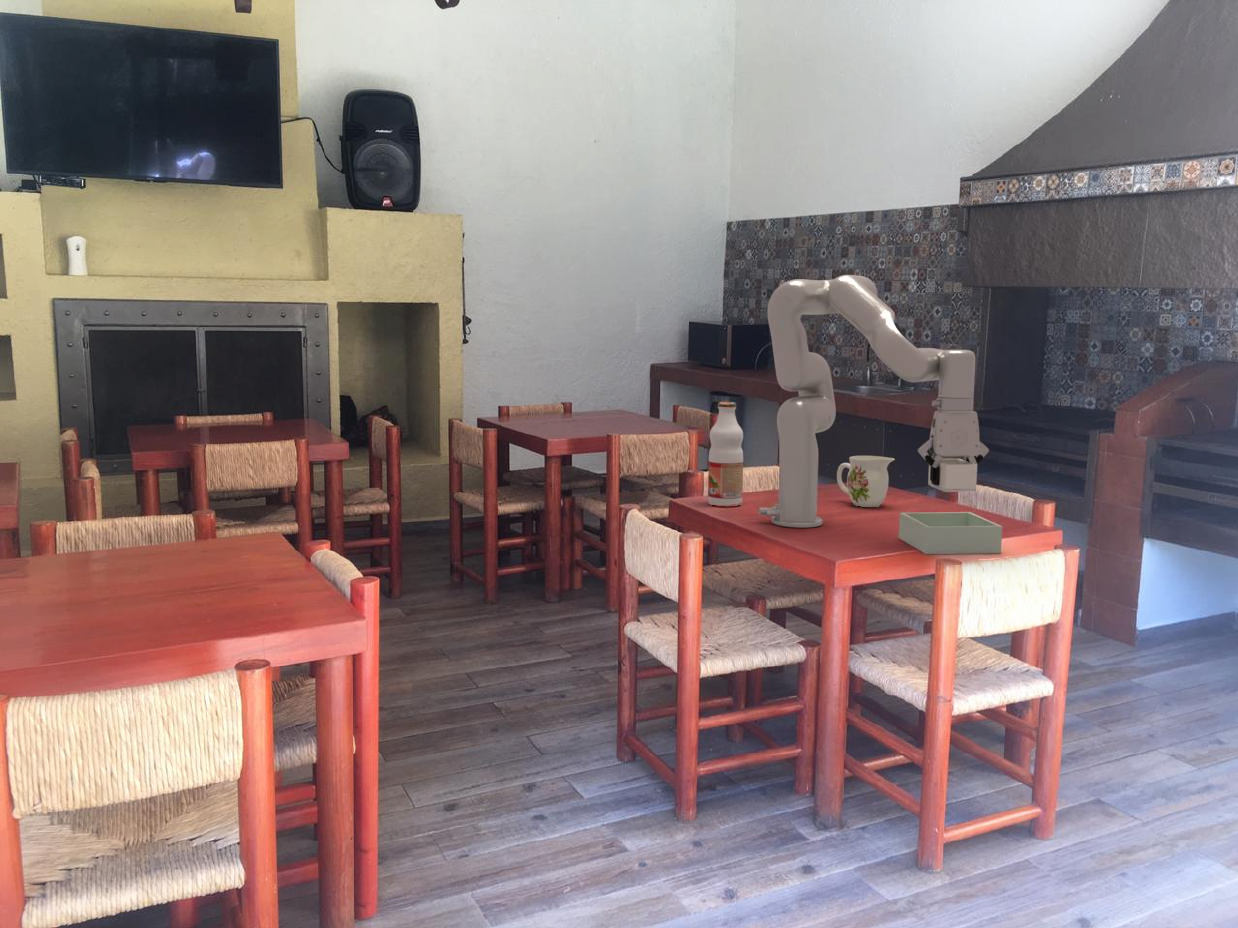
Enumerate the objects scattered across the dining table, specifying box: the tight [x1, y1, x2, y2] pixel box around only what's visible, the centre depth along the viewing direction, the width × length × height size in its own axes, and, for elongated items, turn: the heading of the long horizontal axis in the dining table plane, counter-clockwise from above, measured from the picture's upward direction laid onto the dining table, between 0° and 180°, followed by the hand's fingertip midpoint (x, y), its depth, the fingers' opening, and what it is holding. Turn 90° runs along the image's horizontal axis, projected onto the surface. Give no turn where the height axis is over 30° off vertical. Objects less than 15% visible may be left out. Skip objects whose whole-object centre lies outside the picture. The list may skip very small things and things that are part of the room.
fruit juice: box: [707, 401, 744, 505], centre depth 289 cm, size 9×9×28 cm
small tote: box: [927, 458, 978, 493], centre depth 239 cm, size 7×10×6 cm
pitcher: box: [836, 455, 895, 508], centre depth 291 cm, size 11×18×14 cm, turn 43°
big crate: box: [898, 511, 1003, 555], centre depth 241 cm, size 17×17×6 cm
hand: (951, 483), depth 240 cm, fingers closed on small tote, 7 cm apart
